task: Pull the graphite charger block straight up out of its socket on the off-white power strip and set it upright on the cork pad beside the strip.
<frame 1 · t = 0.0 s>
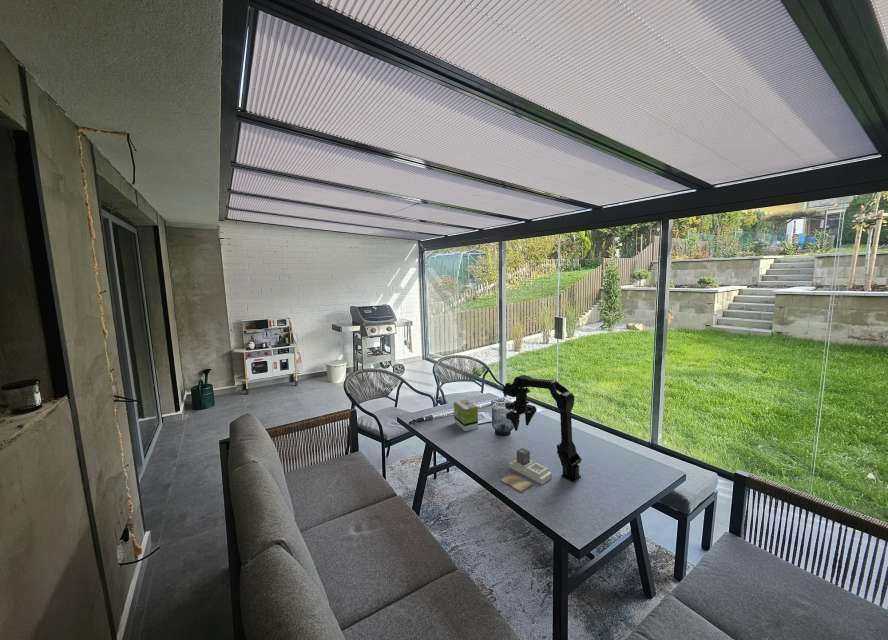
hand: (521, 428, 179), 15 cm above the table, tool pointing down, fingers open, 9 cm apart
power strip: (530, 472, 164), on the table
cork pad: (516, 483, 156), on the table
charger: (523, 464, 167), point 2 cm above the table, touching power strip
tea box: (466, 426, 219), on the table
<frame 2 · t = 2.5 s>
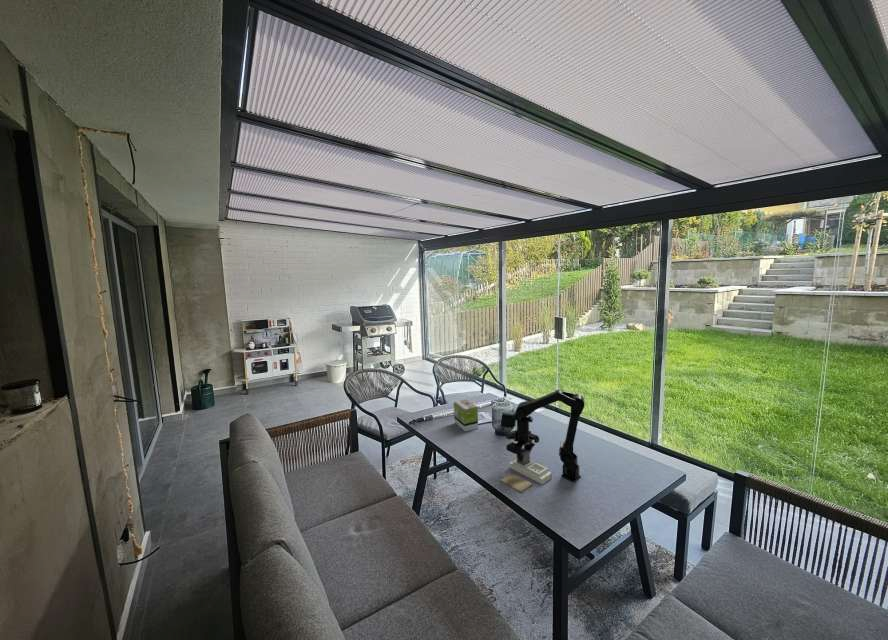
hand: (523, 459, 166), 5 cm above the table, tool pointing down, fingers closed on charger, 4 cm apart
charger: (523, 464, 167), point 2 cm above the table, touching gripper, power strip
everything else where it was.
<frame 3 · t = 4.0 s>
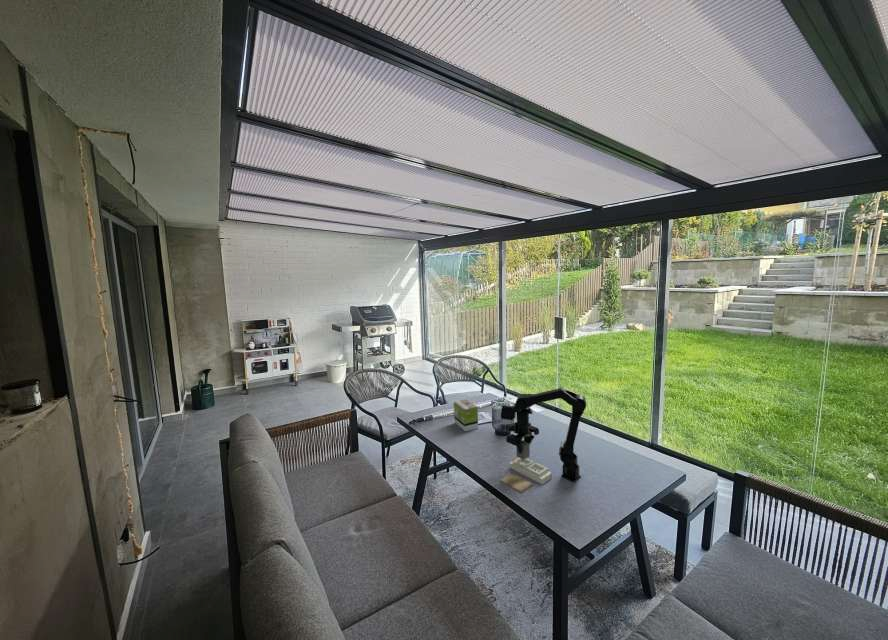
hand: (523, 451, 166), 9 cm above the table, tool pointing down, fingers closed on charger, 4 cm apart
charger: (523, 456, 166), point 7 cm above the table, touching gripper
everything else where it was.
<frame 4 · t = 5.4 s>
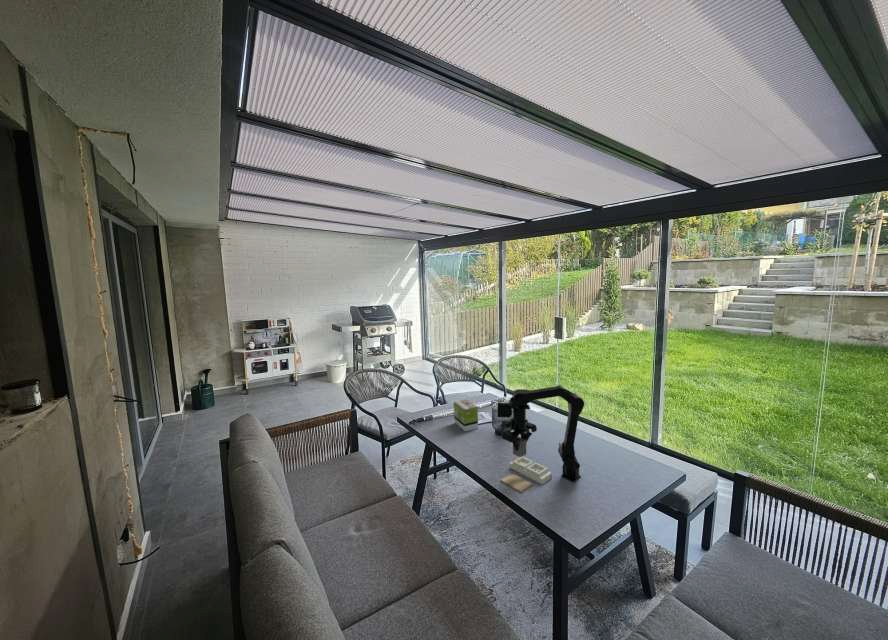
hand: (519, 448, 161), 13 cm above the table, tool pointing down, fingers closed on charger, 4 cm apart
charger: (519, 453, 161), point 11 cm above the table, touching gripper
everything else where it was.
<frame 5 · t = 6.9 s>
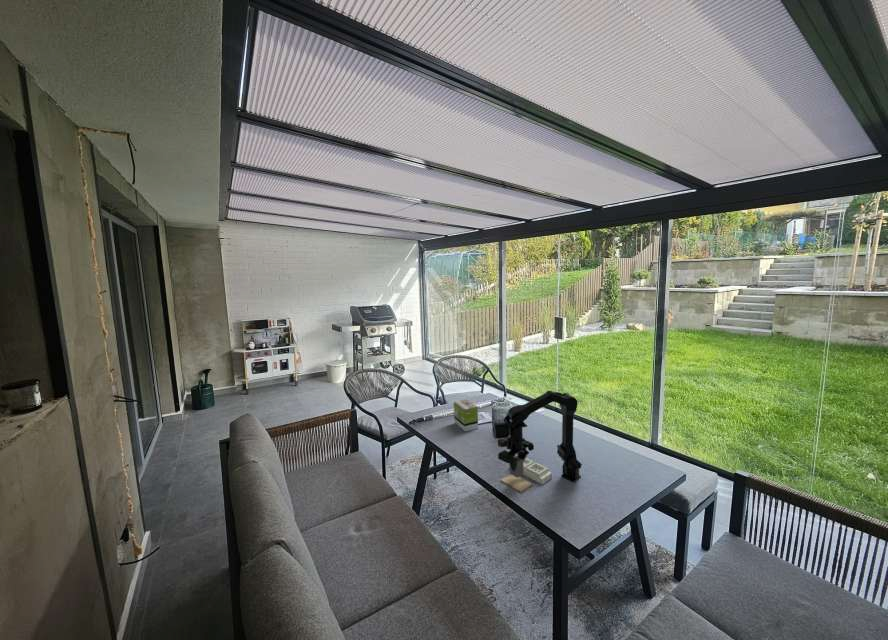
hand: (516, 468, 155), 7 cm above the table, tool pointing down, fingers closed on charger, 4 cm apart
charger: (516, 473, 156), point 5 cm above the table, touching gripper
everything else where it was.
when the fingers open (5 cm above the table, at t = 8.1 s): charger drops 2 cm, resting on cork pad.
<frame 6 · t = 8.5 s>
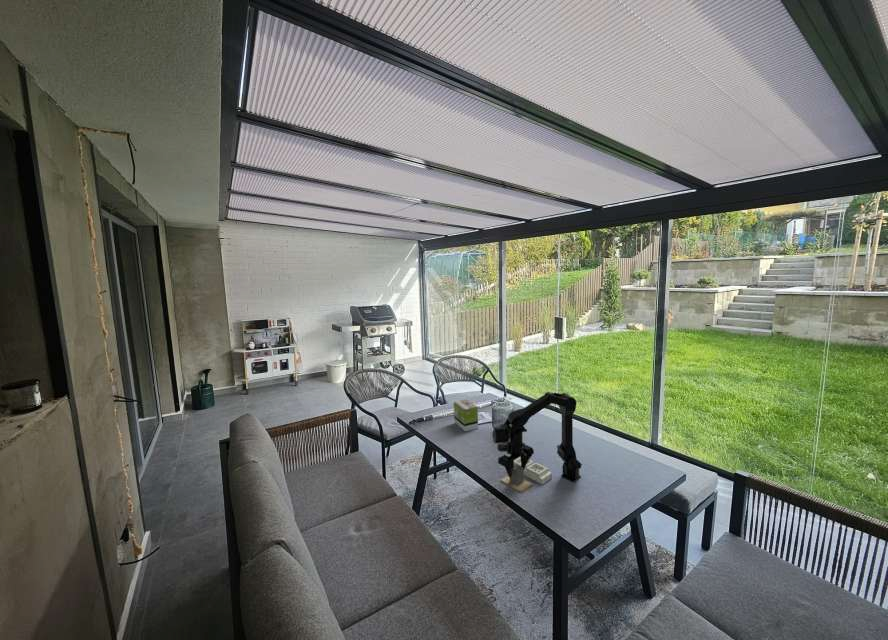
hand: (516, 473, 155), 5 cm above the table, tool pointing down, fingers open, 9 cm apart
charger: (516, 481, 156), point 1 cm above the table, touching cork pad
everything else where it was.
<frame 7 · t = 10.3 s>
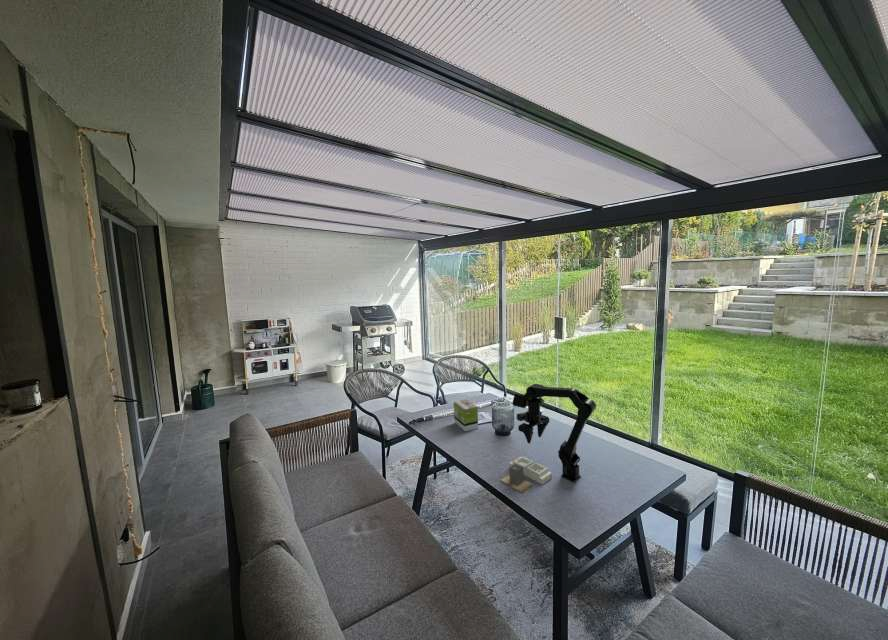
hand: (534, 440, 169), 13 cm above the table, tool pointing down, fingers open, 9 cm apart
nothing on the table moved.
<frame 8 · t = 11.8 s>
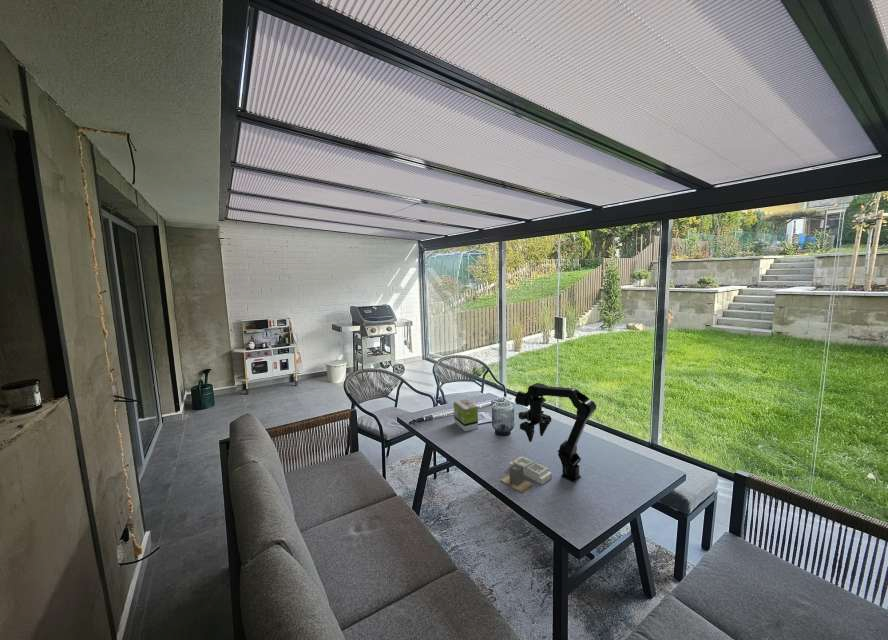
hand: (535, 438, 170), 13 cm above the table, tool pointing down, fingers open, 9 cm apart
nothing on the table moved.
at the end: charger inside the target area on the cork pad (0.1 cm from its centre), point 0.6 cm above the cork pad's base; charger tilted 0°; charger touching cork pad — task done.
